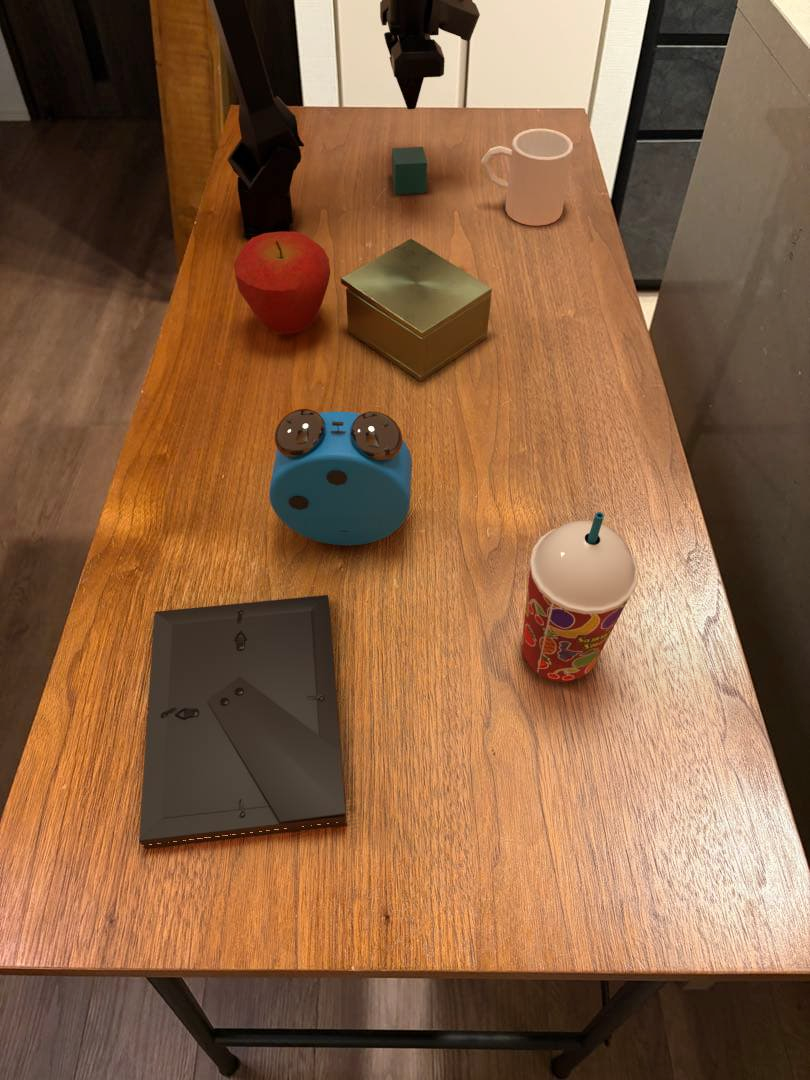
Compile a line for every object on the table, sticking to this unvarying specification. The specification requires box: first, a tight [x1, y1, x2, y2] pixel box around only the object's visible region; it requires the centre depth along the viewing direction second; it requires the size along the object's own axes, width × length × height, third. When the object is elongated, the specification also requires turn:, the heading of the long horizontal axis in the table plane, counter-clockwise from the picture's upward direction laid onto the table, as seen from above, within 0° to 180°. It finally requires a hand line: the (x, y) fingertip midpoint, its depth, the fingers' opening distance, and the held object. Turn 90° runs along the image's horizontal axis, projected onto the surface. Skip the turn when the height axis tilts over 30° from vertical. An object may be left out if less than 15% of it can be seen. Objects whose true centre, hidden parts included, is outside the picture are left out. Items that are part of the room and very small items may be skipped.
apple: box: [233, 231, 331, 336], centre depth 100 cm, size 11×11×12 cm
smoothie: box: [520, 511, 640, 683], centre depth 69 cm, size 8×8×20 cm
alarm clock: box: [268, 408, 413, 546], centre depth 80 cm, size 13×6×15 cm, turn 87°
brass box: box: [345, 287, 492, 382], centre depth 101 cm, size 13×12×6 cm
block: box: [391, 146, 428, 195], centre depth 123 cm, size 5×5×5 cm
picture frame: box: [138, 594, 348, 850], centre depth 71 cm, size 16×3×21 cm
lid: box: [340, 238, 493, 338], centre depth 99 cm, size 13×12×1 cm
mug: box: [481, 127, 574, 227], centre depth 117 cm, size 8×12×10 cm
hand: (409, 102), depth 115 cm, fingers open, 3 cm apart
